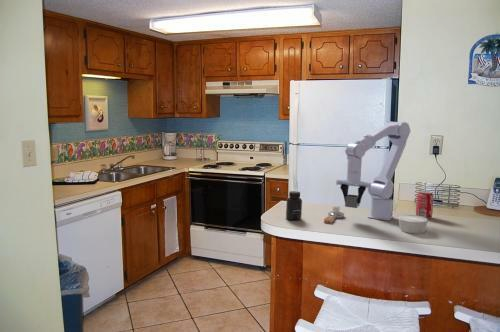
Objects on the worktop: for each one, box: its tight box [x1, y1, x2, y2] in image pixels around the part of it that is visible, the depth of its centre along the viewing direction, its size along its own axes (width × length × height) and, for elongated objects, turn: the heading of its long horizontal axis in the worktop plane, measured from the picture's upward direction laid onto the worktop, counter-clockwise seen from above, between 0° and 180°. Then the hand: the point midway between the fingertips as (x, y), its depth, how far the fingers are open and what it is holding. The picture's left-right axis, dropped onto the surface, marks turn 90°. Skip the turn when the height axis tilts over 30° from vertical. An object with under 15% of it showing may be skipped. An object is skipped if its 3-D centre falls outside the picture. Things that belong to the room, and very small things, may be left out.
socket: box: [344, 193, 360, 209], centre depth 180 cm, size 5×5×4 cm
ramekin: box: [397, 214, 429, 235], centre depth 168 cm, size 11×11×5 cm
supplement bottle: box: [285, 190, 303, 222], centre depth 182 cm, size 7×7×12 cm
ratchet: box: [323, 205, 345, 225], centre depth 184 cm, size 16×7×4 cm, turn 152°
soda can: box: [415, 190, 435, 220], centre depth 189 cm, size 7×7×12 cm
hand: (352, 202), depth 180 cm, fingers closed on socket, 5 cm apart
